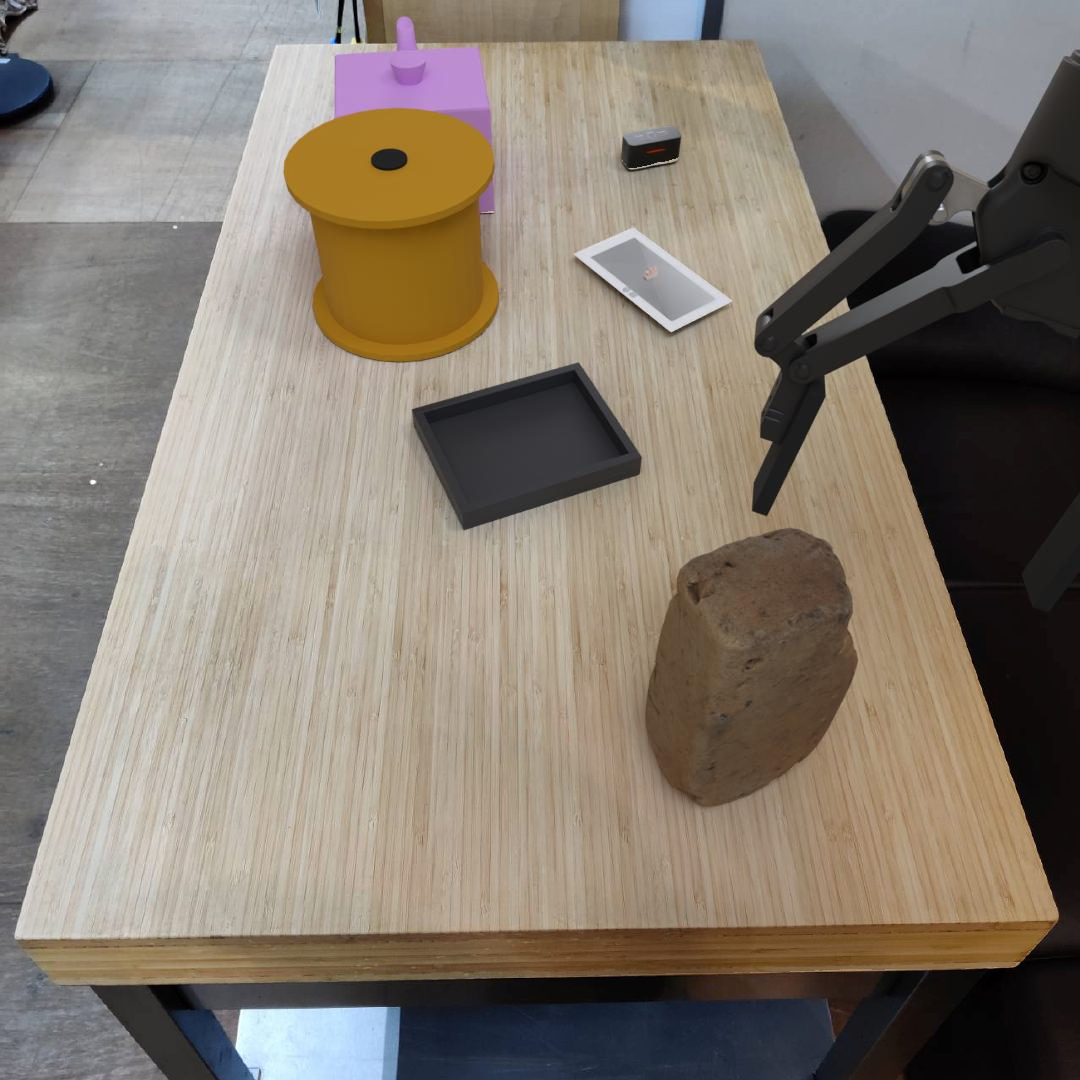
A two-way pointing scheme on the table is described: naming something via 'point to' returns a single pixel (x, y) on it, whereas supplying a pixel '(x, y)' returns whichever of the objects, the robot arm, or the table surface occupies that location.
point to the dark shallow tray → (524, 444)
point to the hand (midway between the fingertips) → (896, 546)
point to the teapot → (417, 84)
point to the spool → (397, 231)
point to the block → (749, 664)
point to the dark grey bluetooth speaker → (650, 146)
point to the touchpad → (653, 279)
